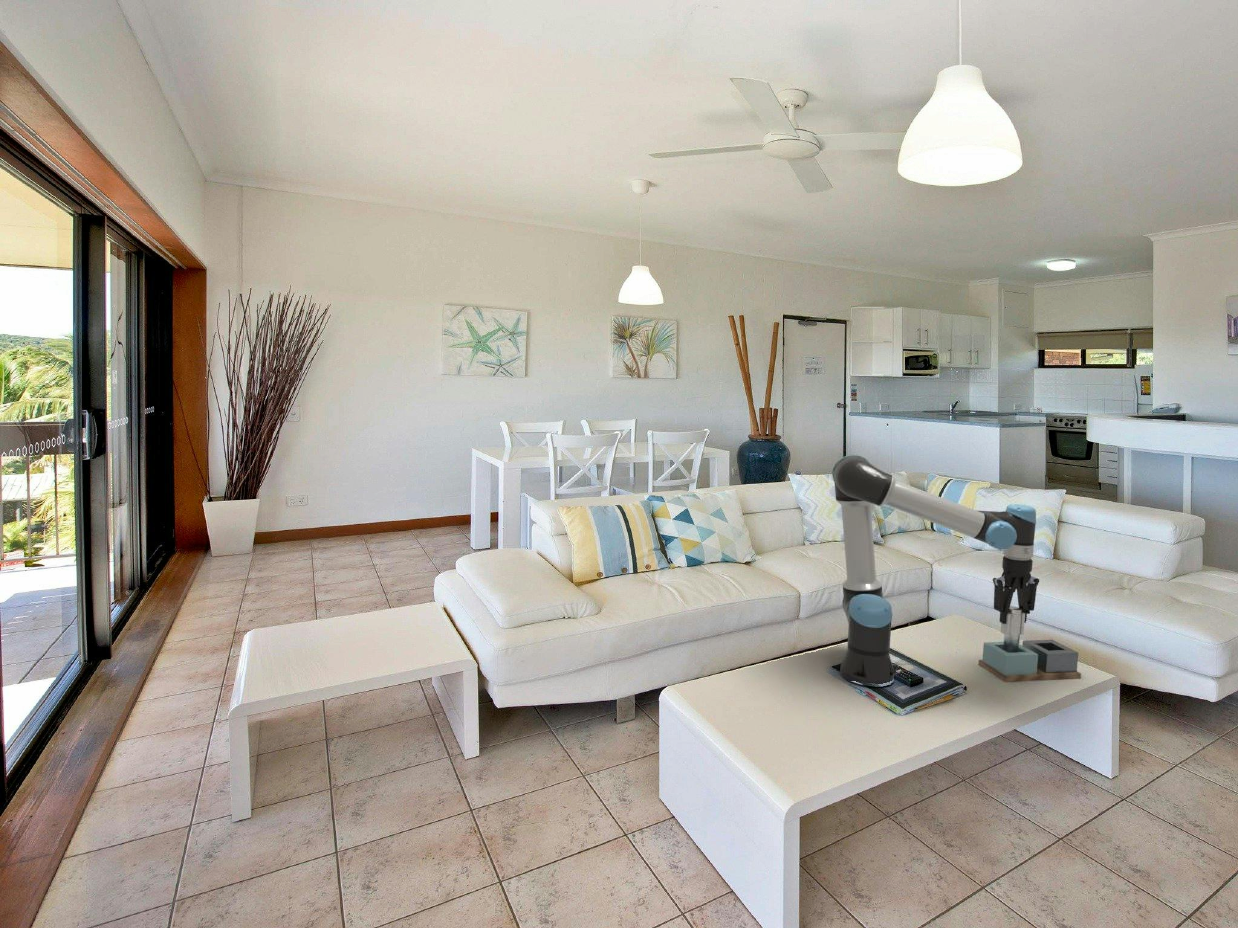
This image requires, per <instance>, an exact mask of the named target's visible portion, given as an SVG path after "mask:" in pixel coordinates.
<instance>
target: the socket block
mask: <svg viewBox="0 0 1238 928" xmlns="http://www.w3.org/2000/svg"><path fill="white" fill-rule="evenodd" d="M1021 645H1022V646H1023V647H1025V648H1027V649H1029V650H1031V651H1033V652H1034V653H1036V654H1038V662H1037V669H1039V670H1041V671H1042V672H1044V673H1066V672H1078V663H1079V652H1078V651H1076V650H1074V649H1072V648H1070V647H1068V646H1067V645H1065V644H1062V643H1060V642H1058V641H1056V640H1055V639H1040V640H1037V639H1036V640H1022V644H1021Z"/></svg>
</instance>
